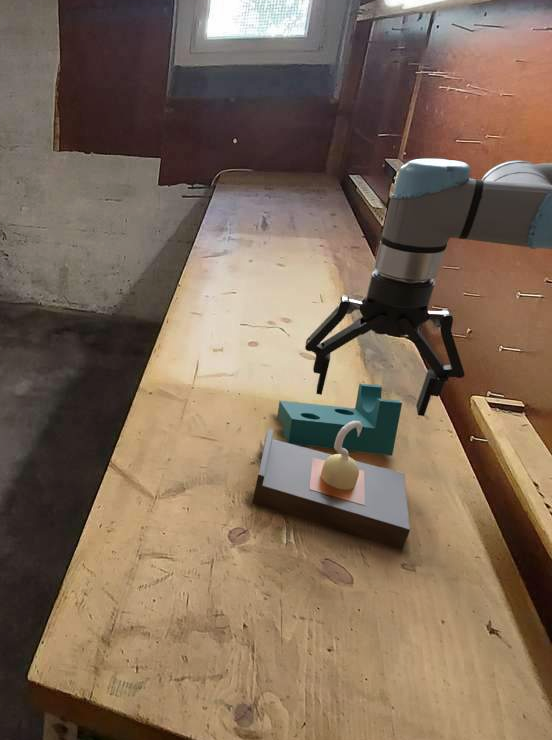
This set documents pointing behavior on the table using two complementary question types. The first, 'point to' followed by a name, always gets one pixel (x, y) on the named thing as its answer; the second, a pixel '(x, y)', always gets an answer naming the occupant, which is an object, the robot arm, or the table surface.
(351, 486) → the hook
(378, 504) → the shelf
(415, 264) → the robot arm
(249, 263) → the table surface
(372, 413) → the teal l-shaped bracket
